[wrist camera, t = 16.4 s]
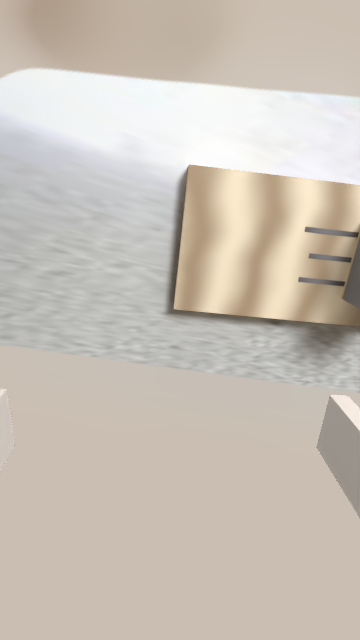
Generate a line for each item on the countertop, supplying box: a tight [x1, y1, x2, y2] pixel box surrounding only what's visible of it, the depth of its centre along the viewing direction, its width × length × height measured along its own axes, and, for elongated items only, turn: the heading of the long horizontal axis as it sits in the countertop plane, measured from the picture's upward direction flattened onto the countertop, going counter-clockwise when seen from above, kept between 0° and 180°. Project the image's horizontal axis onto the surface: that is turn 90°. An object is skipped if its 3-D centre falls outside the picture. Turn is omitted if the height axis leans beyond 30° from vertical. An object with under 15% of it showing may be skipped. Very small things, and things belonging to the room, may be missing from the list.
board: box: [174, 165, 360, 327], centre depth 35 cm, size 28×14×2 cm, turn 84°
